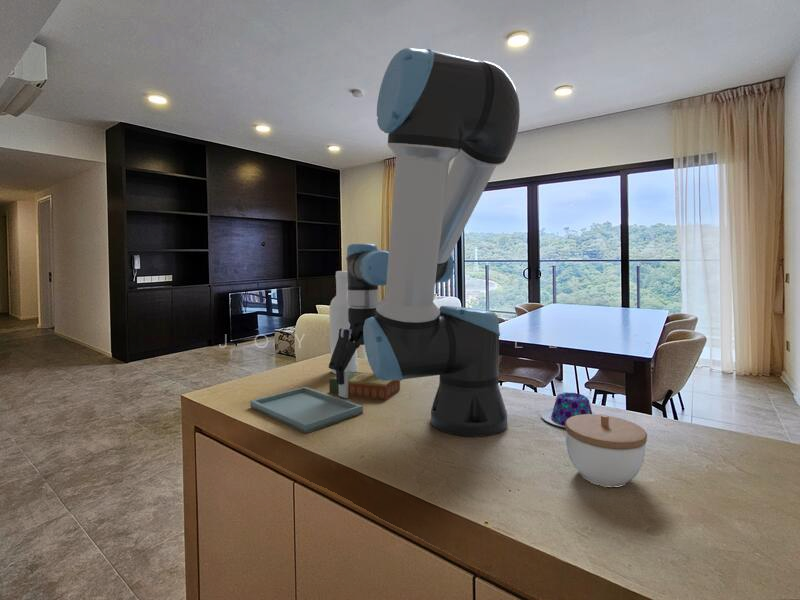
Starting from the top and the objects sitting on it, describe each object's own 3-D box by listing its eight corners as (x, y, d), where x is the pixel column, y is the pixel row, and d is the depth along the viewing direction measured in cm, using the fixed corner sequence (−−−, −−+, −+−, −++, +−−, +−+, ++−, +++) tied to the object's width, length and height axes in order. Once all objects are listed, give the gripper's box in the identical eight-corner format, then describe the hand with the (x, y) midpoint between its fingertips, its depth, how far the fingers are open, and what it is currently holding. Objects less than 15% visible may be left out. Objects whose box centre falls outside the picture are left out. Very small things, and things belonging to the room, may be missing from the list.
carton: (386, 401, 98) (386, 384, 97) (328, 394, 104) (328, 377, 104) (400, 391, 105) (400, 374, 105) (345, 385, 112) (345, 369, 111)
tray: (362, 413, 89) (362, 405, 89) (305, 433, 79) (305, 425, 79) (305, 392, 104) (304, 386, 104) (250, 407, 93) (250, 400, 93)
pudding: (529, 421, 85) (530, 396, 84) (557, 407, 93) (558, 384, 92) (589, 438, 76) (590, 410, 76) (614, 421, 84) (615, 396, 84)
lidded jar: (663, 490, 58) (666, 424, 57) (600, 503, 55) (602, 434, 54) (605, 456, 68) (607, 400, 68) (549, 465, 65) (550, 407, 64)
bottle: (362, 371, 124) (361, 271, 121) (341, 376, 119) (338, 271, 116) (347, 367, 130) (345, 270, 127) (325, 371, 124) (323, 271, 122)
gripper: (387, 302, 115) (388, 377, 117) (312, 310, 96) (314, 399, 98) (407, 303, 110) (408, 382, 111) (332, 312, 91) (334, 406, 93)
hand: (364, 390), depth 105 cm, fingers open, 13 cm apart
